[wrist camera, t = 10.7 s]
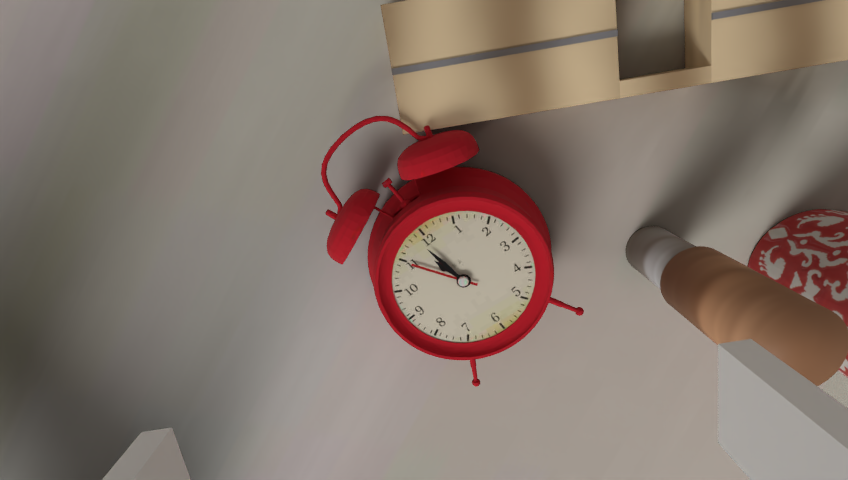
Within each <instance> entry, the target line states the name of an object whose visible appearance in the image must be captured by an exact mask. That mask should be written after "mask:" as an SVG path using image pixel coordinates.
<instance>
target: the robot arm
mask: <svg viewBox="0 0 848 480" xmlns="http://www.w3.org/2000/svg"><path fill="white" fill-rule="evenodd" d="M718 443H719V444H720V446H721V447H722V448H723V449H724V450H725V451H726V452H727V454H728V455H729V456H730V457H731V458H732V459H733V460H734V461H735V463H736V464H737V465H738V466H739V467H740V468H741V469H742V471H743V472H744V473H745V474H746V475H747V476H748V477H749V479H750V480H848V408H847V407H845V406H844V405H843V404H841V403H840V402H838V401H837V400H836V399H834V398H833V397H831V396H830V395H829V394H827V393H826V392H824V391H823V390H822V389H820V388H819V387H817V386H816V385H815V384H813V383H812V382H811V381H809V380H808V379H806V378H805V377H804V376H802V375H801V374H799V373H798V372H797V371H795V370H794V369H792V368H791V367H790V366H788V365H787V364H785V363H784V362H783V361H781V360H780V359H778V358H777V357H776V356H774V355H773V354H771V353H770V352H769V351H767V350H766V349H764V348H763V347H762V346H760V345H759V344H758V343H756V342H755V341H753V340H752V339H747V340H740V341H734V342H727V343H721V344H718ZM102 480H191V479H190V476H189V473H188V471H187V468H186V465H185V462H184V459H183V457H182V454H181V451H180V448H179V445H178V443H177V440H176V437H175V434H174V431H173V429H172V427H171V428H165V429H158V430H152V431H145V432H141V433H140V434H139V435H138V437H137V438H136V439H135V440H134V442H133V443H132V444H131V445H130V446H129V448H128V449H127V450H126V451H125V452H124V454H123V455H122V456H121V457H120V459H119V460H118V461H117V462H116V463H115V465H114V466H113V467H112V468H111V469H110V471H109V472H108V473H107V474H106V475H105V477H104V478H103V479H102Z"/></svg>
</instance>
